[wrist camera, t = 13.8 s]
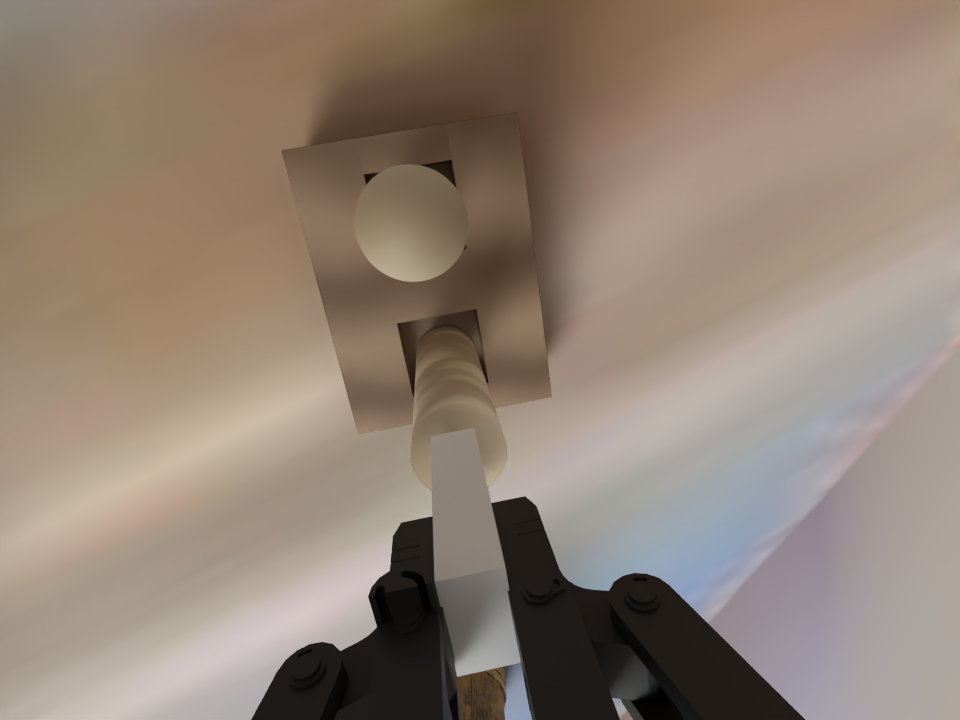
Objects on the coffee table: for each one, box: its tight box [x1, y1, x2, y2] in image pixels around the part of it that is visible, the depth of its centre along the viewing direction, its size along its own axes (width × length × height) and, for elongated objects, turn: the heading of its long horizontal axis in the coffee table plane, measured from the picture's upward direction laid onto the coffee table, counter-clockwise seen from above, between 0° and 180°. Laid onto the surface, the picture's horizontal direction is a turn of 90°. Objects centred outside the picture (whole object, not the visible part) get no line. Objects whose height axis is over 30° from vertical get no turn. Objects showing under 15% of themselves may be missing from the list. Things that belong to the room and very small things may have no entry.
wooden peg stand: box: [282, 112, 552, 434], centre depth 24 cm, size 16×12×16 cm
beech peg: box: [411, 324, 507, 490], centre depth 24 cm, size 4×4×14 cm
